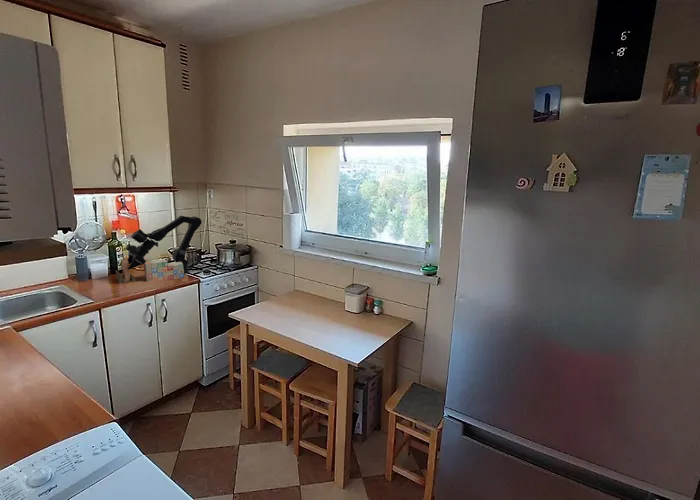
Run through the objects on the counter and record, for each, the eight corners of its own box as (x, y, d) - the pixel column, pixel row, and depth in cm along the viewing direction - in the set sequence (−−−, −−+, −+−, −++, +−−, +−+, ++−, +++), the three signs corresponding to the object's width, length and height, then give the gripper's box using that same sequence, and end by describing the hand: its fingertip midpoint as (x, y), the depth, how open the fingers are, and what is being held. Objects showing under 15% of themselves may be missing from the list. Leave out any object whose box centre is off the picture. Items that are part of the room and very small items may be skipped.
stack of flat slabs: (133, 277, 234) (132, 268, 233) (137, 282, 226) (136, 273, 224) (116, 279, 229) (115, 270, 227) (120, 285, 220) (119, 275, 218)
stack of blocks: (181, 275, 243) (180, 257, 240) (184, 277, 238) (183, 259, 236) (144, 280, 230) (143, 261, 227) (147, 283, 225) (145, 263, 222)
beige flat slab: (128, 278, 230) (126, 259, 227) (130, 280, 225) (128, 261, 223) (123, 278, 228) (121, 259, 225) (125, 281, 224) (123, 262, 221)
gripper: (130, 236, 232) (111, 256, 227) (137, 242, 218) (117, 263, 214) (145, 247, 239) (127, 266, 234) (153, 254, 225) (134, 274, 220)
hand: (126, 267), depth 225 cm, fingers open, 9 cm apart
